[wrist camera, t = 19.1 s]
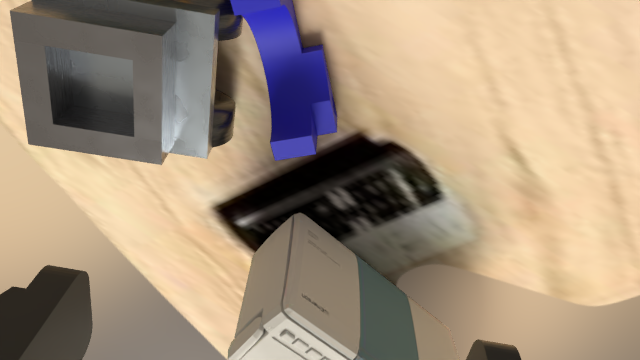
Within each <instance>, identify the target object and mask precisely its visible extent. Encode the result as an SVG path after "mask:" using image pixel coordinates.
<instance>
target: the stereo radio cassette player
mask: <svg viewBox="0 0 640 360" xmlns="http://www.w3.org/2000/svg"><path fill="white" fill-rule="evenodd" d="M234 338H235V339H234V340H233V341H232V342H231V345H230V347H229V349H228V360H460V359H459V356H458V353H457V350H456V347H455V344H454V341H453V338H452V335H451V332H450V330H449V328H448V327H447V326H445V325H444V324H443V323H442V322H440V321H439V320H438V319H436V318H435V317H434V316H433V315H431V314H430V313H429V312H428V311H426V310H425V309H424V308H422V307H421V306H420V305H418V304H417V303H416V302H415V301H413V300H412V299H411V298H410V297H408V296H407V295H406V294H405V293H404V292H402V291H401V290H400V289H399V288H397V287H396V286H395V285H394V284H392V283H391V282H390V281H388V280H387V279H386V278H385V277H383V276H382V275H381V274H380V273H378V272H377V271H376V270H375V269H373V268H372V267H371V266H369V265H368V264H367V263H366V262H364V261H363V260H362V259H361V258H359V257H358V256H357V255H356V254H354V253H353V252H352V251H350V250H349V249H348V248H347V247H345V246H344V245H343V244H342V243H340V242H339V241H338V240H336V239H335V238H334V237H333V236H331V235H330V234H329V233H328V232H326V231H325V230H324V229H323V228H321V227H320V226H319V225H317V224H316V223H315V222H314V221H312V220H311V219H310V218H308V217H307V216H306V215H304V214H302V213H298V214H294V215H292V216H291V217H290V218H289V219H288V220H287V221H286V222H284V223H283V224H282V225H281V226H280V227H279V228H278V229H277V230H276V231H275V232H274V233H273V234H272V235H271V236H270V237H269V238H268V239H267V240H266V241H265V242H264V243H263V244H262V245H261V247H260V248H259V249H258V250H257V251H256V253H255V254H254V255H253V258H252V262H251V266H250V271H249V275H248V280H247V284H246V289H245V293H244V297H243V302H242V306H241V311H240V315H239V320H238V324H237V329H236V333H235V337H234Z"/></svg>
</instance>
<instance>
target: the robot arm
mask: <svg viewBox="0 0 640 360" xmlns="http://www.w3.org/2000/svg"><path fill="white" fill-rule="evenodd" d="M91 333H92V311H91V299H90V285H89V276H88V274H87V272H85V271H80V270H74V269H68V268H62V267H56V266H50V265H48V266H45V267H44V268H43V269H42V270H41V271H40V272H39V273H38V274H37V276H36V277H35V278H34V280H33V281H32V282H31V283H30V284H29V286H28V287H27V288H26V289H25V288H19V287H11V288H10V289H8V290H7V291H5V292H4V293H2V294H0V360H82V358H83V357H84V354H85V352H86V350H87V347H88V345H89V342H90V338H91ZM466 360H521V358H520V355H519V352H518V350H517V348H516V347H515V346H513V345H507V344H501V343H495V342H489V341H483V340H476V341H475V342H474V344H473V345H472V347H471V350H470V352H469V355H468V356H467V359H466Z"/></svg>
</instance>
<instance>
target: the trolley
mask: <svg viewBox="0 0 640 360" xmlns="http://www.w3.org/2000/svg"><path fill="white" fill-rule="evenodd" d="M10 15H11V22H12V29H13V37H14V44H15V51H16V58H17V65H18V72H19V80H20V87H21V94H22V101H23V108H24V115H25V123H26V130H27V137H28V144H30V145H37V146H43V147H50V148H56V149H63V150H69V151H76V152H82V153H88V154H95V155H101V156H108V157H114V158H121V159H127V160H134V161H140V162H147V163H153V164H159V165H162V163H163V162H164V160H165V158H166V157H167V155H168V153H174V154H181V155H187V156H193V157H200V158H206V159H207V158H208V155H209V153H210V151H211V149H212V147H217V146H220V145H223V144H225V143H227V142H228V141H229V140H230V139H231V138H232V136H233V128H234V117H235V102H234V100H233V99H232V98H231V97H229V96H228V95H226V94H224V93H222V92H219V91H216V90H215V84H216V67H217V51H218V41H222V40H230V39H234V38H236V37H238V36H240V35H241V33H242V21H243V16H242V15H237V16H234V12H233V8H232V5H231V1H230V0H32V1H30V2H27V3H25V4H23V5H21V6H19V7H17V8H14V9H12V10H10Z"/></svg>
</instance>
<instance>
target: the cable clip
mask: <svg viewBox="0 0 640 360" xmlns="http://www.w3.org/2000/svg"><path fill="white" fill-rule="evenodd" d="M230 1H231V5H232V8H233V12H234V16H237V15H242V16H243V17H244V18H245V19H246V21H247V22H248V24H249V26H250V28H251V30H252V32H253V35H254V37H255V40H256V43H257V46H258V49H259V52H260V55H261V59H262V62H263V66H264V70H265V75H266V80H267V85H268V91H269V98H270V106H271V119H272V132H271V140H270V144H271V148H272V151H273V155H274V158H275V161H277V160H283V159H289V158H295V157H301V156H307V155H314V154H316V147H317V136H318V135H323V134H329V133H335V132H337V113H336V108H335V103H334V98H333V94H332V89H331V84H330V79H329V74H328V69H327V64H326V59H325V54H324V49H323V44H322V45H317V46H312V47H306V48H303V46H302V42H301V37H300V33H299V28H298V24H297V19H296V15H295V10H294V6H293V1H292V0H230Z"/></svg>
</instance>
